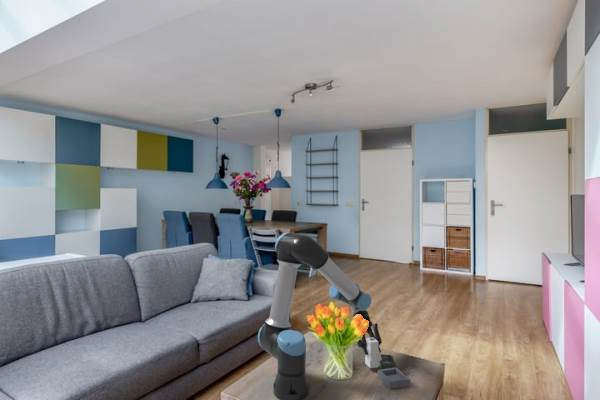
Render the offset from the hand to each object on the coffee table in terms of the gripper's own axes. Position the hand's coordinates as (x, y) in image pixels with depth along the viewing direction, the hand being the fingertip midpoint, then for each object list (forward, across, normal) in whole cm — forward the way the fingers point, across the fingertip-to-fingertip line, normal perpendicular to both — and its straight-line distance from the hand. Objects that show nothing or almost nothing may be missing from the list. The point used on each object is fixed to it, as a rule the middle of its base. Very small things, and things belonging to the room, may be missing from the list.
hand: (375, 360), depth 162 cm
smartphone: (-1, -10, -9) cm, 14 cm away
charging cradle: (+10, -4, +2) cm, 11 cm away
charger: (0, 0, -5) cm, 5 cm away
